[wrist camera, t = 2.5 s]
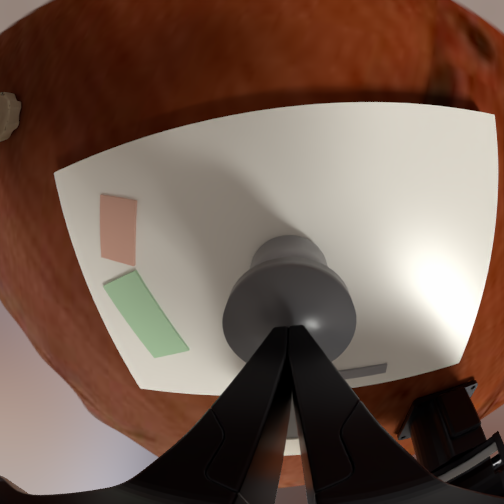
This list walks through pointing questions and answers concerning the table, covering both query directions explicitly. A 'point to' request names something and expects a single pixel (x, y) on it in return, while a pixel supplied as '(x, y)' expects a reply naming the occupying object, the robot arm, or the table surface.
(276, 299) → the grey round-headed bar
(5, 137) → the handle
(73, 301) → the table surface
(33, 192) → the table surface
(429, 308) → the board
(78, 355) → the table surface
